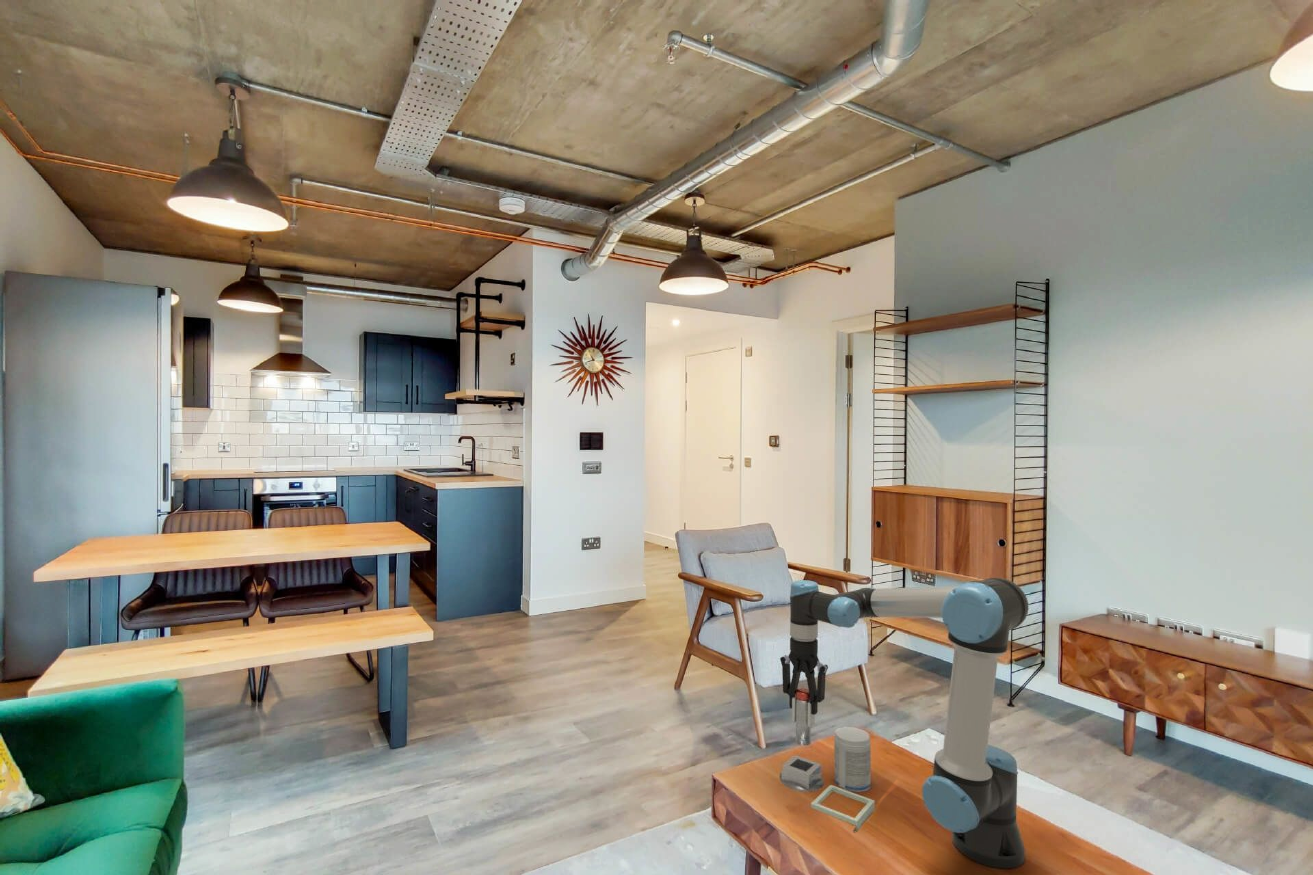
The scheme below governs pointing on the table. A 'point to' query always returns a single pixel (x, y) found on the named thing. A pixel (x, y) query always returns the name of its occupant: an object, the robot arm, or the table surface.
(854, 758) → the supplement tub
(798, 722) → the red capped bottle
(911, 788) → the table surface
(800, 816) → the table surface
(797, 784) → the grey socket fixture
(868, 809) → the tray
